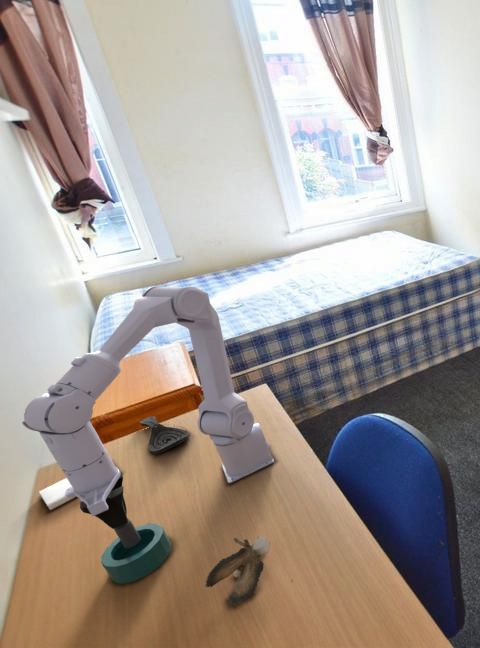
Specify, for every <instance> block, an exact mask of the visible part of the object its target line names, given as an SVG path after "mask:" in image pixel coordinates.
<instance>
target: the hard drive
mask: <svg viewBox="0 0 480 648" xmlns="http://www.w3.org/2000/svg"><path fill="white" fill-rule="evenodd" d="M70 487H72V486H71V484H70V482H69V481H68V479H67V477H65V478H63V479H62V480H59V481H57V482H55V483H54V484H53V483H52V484H51V485H50V486H48V487H47V486H46V488H43V489H42V490H39V491H38V493H39V495H40V497H41V499H42V500H43V502H44V503H45V504H46V506H47V507H48V509H49V510H50V511H53V510H54V509H56V508H58V507H60V506H62V505H64V504H65V503H68V502H70V501H71V500H73V499H75V498H78V497H77V496H73V497H70V498H67V497H66V495H65V492H66V490H67V489H68V488H70Z"/></svg>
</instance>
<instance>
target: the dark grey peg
mask: <svg viewBox="0 0 480 648" xmlns="http://www.w3.org/2000/svg"><path fill="white" fill-rule="evenodd" d="M135 528H136V527H135V525H134V524H133V522H132V520H131V519H130V518H128V517H127V523H125V524H123V525H121V526H118V527H116V528H114V529H113V530H114V532H115V534H116V535H117V538H118V537H119V539H120V540H121V542H122V544H123V545H124V547H125V548H130V547H133V546H135V545H136V544H137V543H138V542H139V541H140V539H141V538H140V536H139V534H138V532H137V531H136V529H135Z"/></svg>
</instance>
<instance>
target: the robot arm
mask: <svg viewBox="0 0 480 648" xmlns="http://www.w3.org/2000/svg"><path fill="white" fill-rule="evenodd" d="M172 324H176V325H177V324H178V325H180V326H182V327H184V328H186V329H187V330H188V332H189V336H190V341H191V345H192V350H193V353H194V354H193V355H194V359H195V363H196V368H197V371H198V377H199V380H200V386H201V389H202V393H203V394H202V395H203V398H204V399H203V400H202V402H200V404H199V405H198V407H197V409H198V419H197V428H198V430H199V431H200V433H201V434H204V435H205V436H209V438H210V440H211V441H212V442H213V444H214V447H215V449H216V452H217V454H218V456H219V458H220V460H221V463H222V465H221V467H222V470H223V473H224V475H225V479H226V481H227V483H228V484H232V483H234V482H236V481H238V480H240V479H242V478H245V477H247V476H249V475H251V474H253V473H255V472H257V471H259V470H262V469H263V468H266V467H267V466H270V465H272V464H273V463H274V462H275V460H274V458H273V454H272V452H271V447H270V444H269V442H267V439H266V438H265V434H264V432H263V430H262V428H261V426H260V424H259V422H255V415H254V413H253V412H252V410H250V408H249V406H248V402H247V401H246V400H245V399H244V398H243V397H241V396H240V395H239V394H237V392H235V388H234V383H233V378H232V374H231V369H230V365H229V360H228V355H227V350H226V346H225V341H224V337H223V336H224V335H223V331H222V327H221V322H220V318H219V314H218V312H217V310H215V308H214V307H213V305H212V304H211V300H210V296H209V293H208V292H206V291H204V290H202V289H200V288H198V287H196V286H189V285H188V286H161V285H154V286H150V287H148V288H147V289H145V290H144V291H143V293H142V295H141V296H139V297H137V298H136V299H135V300H134V302H133V306H132V309H131V310H130V311H129V313H128V314H127V315H126V317H124V319H123V320H122V322H120V324H119V325H118V326H117V327H116V329H115V330H114V331H113V332H112V334H111V335H110V336H109V337H108V338H107V339H106V341H105V342H104V343H103V344H102V346H101V347H100V348H99V350H98V351H95V352H88V353H84V354H83V355H82V356H81V357H75V358H74V359H73V360H72V361H71V362H70V365H72V366H71V367H70V368H69V369H68V370H67V371H66V372H65V373H64V375H62V377H60V379H59V380H58V381H57V382H56V383H55V384H51V385H50V386H49V387H48V388H47V393H44V394H41V395H40V396H36V397H35V398H34V399H32V400H31V401H30V402H29V403H28V404H27V406H26V407H25V409H24V413H23V421H21V424H22V425H23V426H24V427H25V428H26V429H27V430H30V431H34V432H38V433H39V435H40V436H41V438H42V440H43V441H44V443H45V445H46V446H47V448H48V450H49V452H50V453H51V455H52V456H53V458H54V460H55V462H56V463H57V465H58V466H59V468H60V469H61V471H62V473H63V475H64V476H65V478H67V479H68V481H69V482H70V484H71V486H72V487H70V488H68V489H67V490H66V492H65V495H66V497H67V498H70V497H73V496H77V497H76V498H78V499H79V500H80V502H79V509H80V510H81V512H83V513H84V514H88V515H91V517H96V518H97V519H99V520H100V521H102V522H103V523H104V524H105V525H107V526H108V527H109V528H111V529H113V530H114V528H116V527H118V526H121V525H123V524H125V523H127V518H128V515H127V514H128V511H127V510H128V509H127V503H126V501H125V495H124V485H123V481H124V473H123V472H122V471H120V469H119V468H118V467H117V466H116V465H115V463H114V462H113V460H112V458H111V456H110V455H109V453H108V451H107V449H106V447H105V445H104V444H103V442H102V440H101V438H100V436H99V434H98V432H97V431H96V429H95V427H94V426H93V424H92V422H91V419H92V418H93V417H92V416H93V413H94V406H95V404H96V403H97V402H96V401H97V400H98V399H99V397H100V396H101V395H102V394H103V393H104V392H105V391H106V390H107V388H108V387H109V386H110V385H111V384H112V383H113V382H114V381H115V379H116V378H117V377H118V376H119V374H121V370H122V369H121V363H120V362H121V361H122V360H123V359H124V358H125V357H126V356H127V355H129V353H130V352H131V351H133V349H134V348H136V346H137V345H138V344H139V343H140V342H142V340H143V339H144V338H145V337H146V336H147V335H148V334H150V332H152V330H153V329H155V328H159V327H163V326H168V325H172Z"/></svg>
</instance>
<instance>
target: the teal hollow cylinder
mask: <svg viewBox="0 0 480 648" xmlns="http://www.w3.org/2000/svg"><path fill="white" fill-rule="evenodd" d="M135 529H136V531H137V532H138V534H139V536H140V538H141V539H140V541H139V542H138V543H137V544H136V545H135V546H133V547H130V548H125V547H124V545H123V544H122V542H121V540H120V539H119V537H118V536H117V538H115V539H114V540H113V541H112V542H111V543H110V544H109V545H108V546H106V548H105V549H104V551H103V553H102V555H101V556H100V557H101V558H100V559H101V562H100V564H101V565H102V566H103V568H104V570H105V572H106V574H108V576H109V577H110V578H111V580H112V581H113V582H114V583H116V584H129V583H132V582H135V581H138V580H140V579H143V578H144V577H146V576H148V575H149V574H151V573H152V572H154V571H155V570H156V569H157V568H159V567H160V566H161V565H162V564H163V563H164V562H165V561H166V560H167V558H168V557H169V555H170V553H171V551H172V544H171V541H170V539H169V537H168V534H167V533H166V531H165V529H164V528H163V526H162V525H160V524H158V523H145V524H141V525H138V526H136V527H135Z"/></svg>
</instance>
